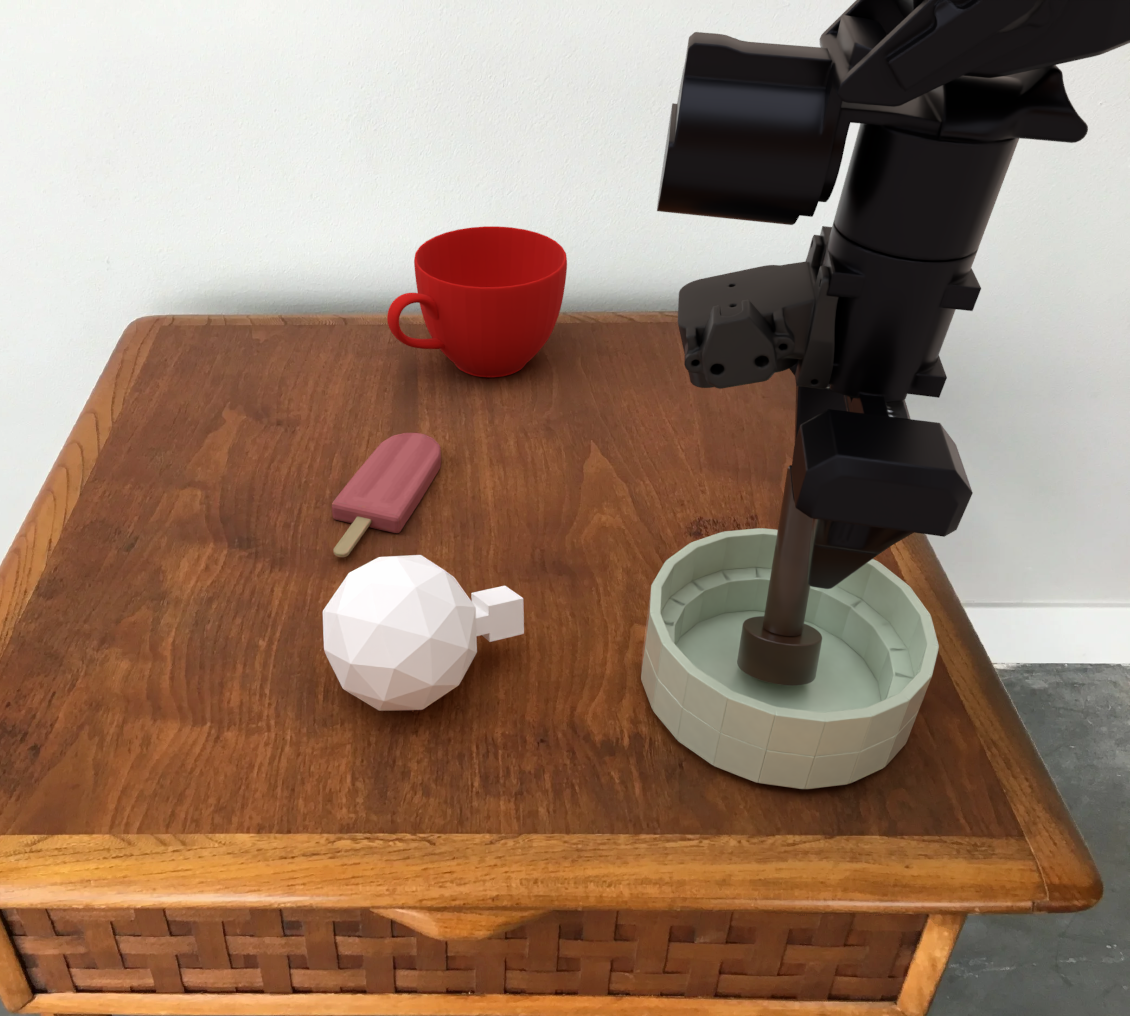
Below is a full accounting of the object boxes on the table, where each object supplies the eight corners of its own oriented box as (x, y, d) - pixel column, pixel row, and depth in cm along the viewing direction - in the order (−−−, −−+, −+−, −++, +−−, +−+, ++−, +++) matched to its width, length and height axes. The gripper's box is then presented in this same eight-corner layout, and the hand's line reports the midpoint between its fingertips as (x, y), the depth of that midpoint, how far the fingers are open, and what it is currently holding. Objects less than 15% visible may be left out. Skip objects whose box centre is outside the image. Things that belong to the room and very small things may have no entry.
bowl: (888, 615, 64) (912, 542, 61) (930, 815, 52) (964, 739, 49) (645, 588, 67) (654, 516, 63) (634, 773, 55) (644, 698, 51)
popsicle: (302, 538, 69) (389, 426, 80) (304, 555, 70) (390, 442, 81) (373, 555, 68) (452, 438, 79) (375, 572, 69) (453, 454, 80)
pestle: (808, 659, 61) (842, 464, 57) (821, 690, 56) (858, 482, 53) (733, 650, 61) (762, 456, 58) (740, 680, 57) (772, 473, 54)
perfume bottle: (356, 759, 54) (552, 704, 58) (344, 599, 51) (550, 556, 56) (306, 690, 61) (483, 647, 66) (293, 548, 58) (479, 513, 63)
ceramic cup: (354, 367, 91) (344, 262, 85) (501, 314, 99) (502, 214, 93) (438, 429, 83) (434, 317, 77) (592, 365, 90) (599, 259, 84)
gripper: (706, 140, 50) (657, 407, 60) (707, 313, 36) (642, 628, 45) (942, 162, 49) (852, 432, 58) (1042, 352, 34) (901, 668, 44)
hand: (810, 524), depth 51 cm, fingers open, 9 cm apart
